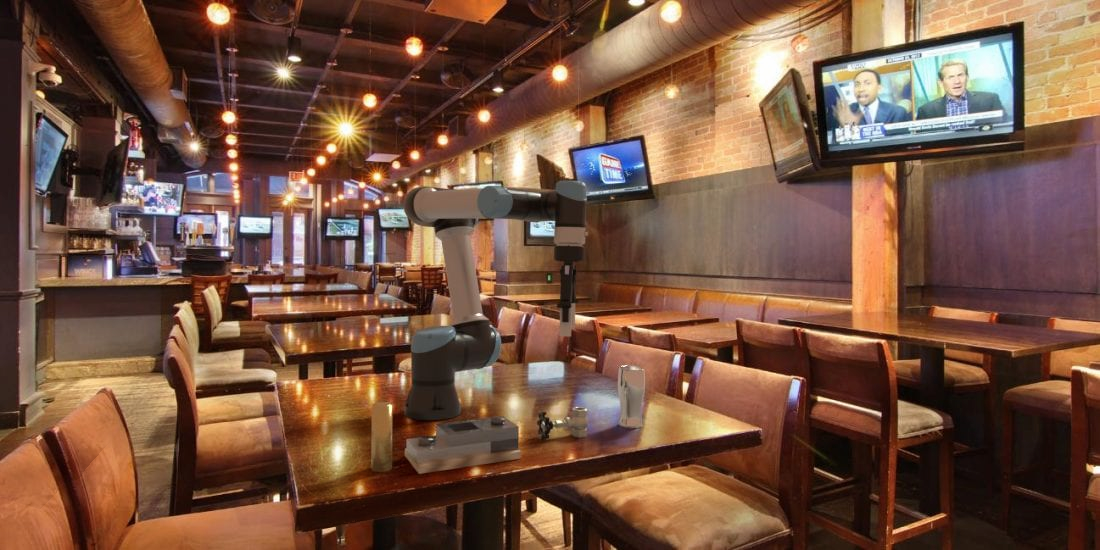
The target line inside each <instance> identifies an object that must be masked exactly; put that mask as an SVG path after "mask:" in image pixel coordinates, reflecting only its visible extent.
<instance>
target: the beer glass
mask: <svg viewBox="0 0 1100 550" xmlns="http://www.w3.org/2000/svg"><path fill="white" fill-rule="evenodd" d="M645 372H646V371H645V367H643V366H639V365H630V364H629V365H628V364H627V365H620V366H619V367H618V377H617V391H618V400H619V406H620V407H619V408H620V414H619V421H618V425H619V426H620V427H622V428H625V429H640V428H641V427H643V419H642V408H643V401H644V397H645V392H646V391H645V390H646V376H645V375H646V374H645Z"/></svg>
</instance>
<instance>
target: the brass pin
mask: <svg viewBox="0 0 1100 550" xmlns="http://www.w3.org/2000/svg"><path fill="white" fill-rule="evenodd" d="M370 443H371V447H370V448H371V455H370V456H371V459H370V460H371V462H370V463H371V464H370V465H371V466H370V467H371V469H370V470H371V471H372V472H373V473H385V472H389V471H391V470H392V469H393V402H389V401H387V402H386V401H380V402H374V403H372V404H371V442H370Z"/></svg>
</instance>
